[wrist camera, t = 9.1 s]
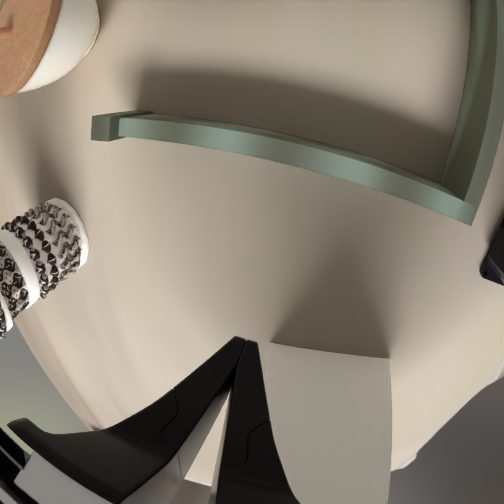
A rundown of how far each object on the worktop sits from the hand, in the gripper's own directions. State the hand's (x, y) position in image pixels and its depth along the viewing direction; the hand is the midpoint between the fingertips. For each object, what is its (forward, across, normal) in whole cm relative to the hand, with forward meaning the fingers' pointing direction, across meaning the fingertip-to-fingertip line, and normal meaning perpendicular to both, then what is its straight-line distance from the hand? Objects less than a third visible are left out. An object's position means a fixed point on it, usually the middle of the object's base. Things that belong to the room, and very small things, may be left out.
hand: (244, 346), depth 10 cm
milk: (+12, -8, +17) cm, 23 cm away
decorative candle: (+12, +23, +7) cm, 27 cm away
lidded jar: (+12, +22, -14) cm, 28 cm away
